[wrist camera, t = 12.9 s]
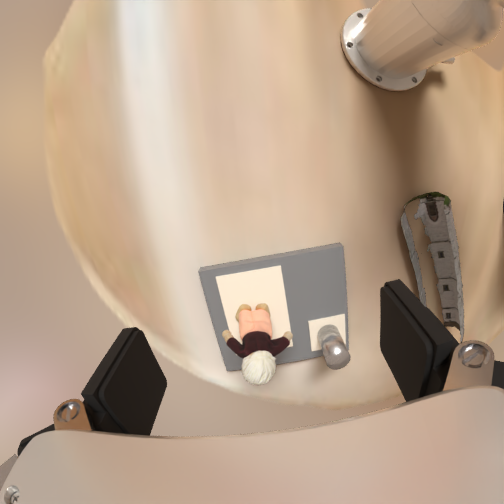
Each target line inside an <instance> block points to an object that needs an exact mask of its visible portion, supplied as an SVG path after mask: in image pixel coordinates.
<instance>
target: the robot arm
mask: <svg viewBox="0 0 504 504" xmlns="http://www.w3.org/2000/svg"><path fill="white" fill-rule="evenodd" d="M503 8H504V0H379V2H378V3H377V4H376V5H375V6H374V7H373V8H366V9H361V10H358V11H356V12H354V13H353V14H352V15H350V16H349V17H348V19H347V20H346V21H345V23H344V25H343V27H342V31H341V43H342V48H343V51H344V53H345V55H346V58H347V59H348V61H349V62H350V64H351V65H352V66H353V68H354V69H355V70H356V71H357V72H358V73H359V74H360V75H361V76H362V77H363V78H364V79H366V80H367V81H369V82H370V83H372V84H374V85H376V86H378V87H380V88H383V89H386V90H390V91H405V90H408V89H411V88H413V87H415V86H417V85H418V84H419V83H420V82H421V81H422V80H423V78H424V77H425V74H426V72H427V68H429V67H431V66H434V65H436V64H438V63H447V64H453V63H454V57H455V56H458V55H461V54H463V53H466V52H468V51H471V50H474V49H476V48H479V47H482V46H484V45H486V44H488V43H490V42H491V41H492V40H494V39H495V37H496V36H497V34H498V33H499V31H500V28H501V24H502V18H503ZM348 46H349V47H350V48H349V47H348ZM376 79H377V80H378V81H377V80H376ZM380 297H381V328H380V347H381V351H382V354H383V356H384V358H385V360H386V361H387V363H388V365H389V367H390V369H391V371H392V373H393V375H394V377H395V379H396V381H397V383H398V386H399V388H400V390H401V392H402V394H403V396H404V398H405V400H406V402H405V403H402V404H398V405H395V406H392V407H388V408H385V409H381V410H378V411H374V412H370V413H366V414H362V415H358V416H354V417H350V418H345V419H341V420H336V421H332V422H327V423H322V424H317V425H311V426H305V427H299V428H293V429H285V430H279V431H270V432H262V433H251V434H240V435H224V436H195V437H193V436H192V437H178V436H150V433H151V430H152V427H153V424H154V421H155V419H156V416H157V413H158V410H159V407H160V404H161V401H162V398H163V396H164V392H165V390H166V387H167V380H166V378H165V376H164V374H163V372H162V370H161V368H160V366H159V364H158V362H157V360H156V358H155V356H154V355H153V352H152V350H151V348H150V346H149V344H148V341H147V339H146V337H145V335H144V333H143V331H141V330H139V329H138V328H137V327H133V328H125V329H123V330H122V331H121V333H120V334H119V336H118V337H117V339H116V340H115V342H114V343H113V345H112V346H111V348H110V349H109V351H108V352H107V354H106V355H105V357H104V358H103V360H102V361H101V363H100V364H99V366H98V367H97V369H96V371H95V372H94V374H93V375H92V377H91V378H90V380H89V382H88V383H87V385H86V387H85V388H84V390H83V391H82V393H81V395H82V396H83V398H84V399H85V400H84V401H83V402H82V401H80V400H79V399H70V400H67V401H65V402H63V403H62V404H60V405H59V406H58V407H57V409H56V410H55V412H54V417H53V419H54V424H52V425H50V426H49V427H47V428H45V429H43V430H41V431H39V432H37V433H35V434H33V435H31V436H29V437H27V438H25V439H23V440H22V441H21V443H20V445H19V448H18V456H16V455H15V454H14V455H13V456H12V457H11V458H10V459H8V460H7V461H6V462H5V463H4V464H2V465H1V466H0V504H504V362H500V361H495V360H494V353H493V351H492V349H491V348H490V347H489V346H488V345H487V344H485V343H483V342H480V341H472V340H470V341H466V342H463V343H461V344H459V343H458V342H457V341H456V339H455V338H454V337H453V336H452V335H451V333H450V332H449V331H448V330H447V329H446V328H445V326H444V325H443V324H442V323H441V322H440V321H439V319H438V318H437V317H436V316H435V315H434V314H433V313H432V312H431V310H430V309H429V308H427V307H425V306H424V305H423V304H422V303H421V302H420V301H419V299H418V298H417V297H416V296H415V295H414V294H413V293H412V292H411V291H410V290H409V289H408V287H407V286H406V285H405V284H404V283H403V282H402V281H401V280H400V279H398V280H394V281H390V282H386V283H385V285H384V287H382V288H381V290H380Z"/></svg>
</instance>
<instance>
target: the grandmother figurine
mask: <svg viewBox="0 0 504 504" xmlns="http://www.w3.org/2000/svg"><path fill="white" fill-rule="evenodd" d="M235 318H236V320H237V321H238V322H239V333H240V339H241V340H242V344H241V343H240V342H239V341H238V340H237V339H235V338H234V337H233V335H231V332H230V331H229V330H225V331H223V333H222V336H223V338H224V339H225V341H226V344H227V346H228V347H229V348H230V349H231V350H232V351H233V352H234V353H235V354H237V355H238V356H239V357H241V358H243V363H242V373H243V375H244V379H245V380H246V381H248V382H249V383H250V384H254V385H263V384H266V383H267V382H269V381H270V380H271V378H272V377H273V375H274V374H275V371H276V364H275V359H276V358H275V357H274V356H276V355H278V354H280V353H281V352H282V351H283V350H285V349H286V348H287V347H288V346H289V345H290V340H291V339H292V337H293V334H292V333H291V332H290V331H287V332H285V333H284V335H283V336H282V337H280V338H277V339H272V323H271V320H270V311H269V307H268V305H267V304H265V303H260V304H258V305H257V306H256V309H255V310H254V311H251V307H250V306H249V305H247V304H242V305H240V306H239V308H238V310H237V313H236V315H235Z"/></svg>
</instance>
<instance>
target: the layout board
mask: <svg viewBox="0 0 504 504" xmlns="http://www.w3.org/2000/svg"><path fill="white" fill-rule="evenodd" d="M199 276H200V280H201V283H202V287H203V291H204V294H205V298H206V302H207V305H208V309H209V312H210V316H211V319H212V323H213V326H214V330H215V333H216V337H217V340H218V343H219V347H220V350H221V353H222V356H223V360H224V363H225V366H226V369H227V371H233V370H241V369H242V363H243V358H241V357H239V356H238V355H237V354H235V353H234V352H233V351H232V350H231V349H230V348H229V347H228V346H227V344H226V341H225V339H224V338H223V336H222V333H223V331H225V330H229V331H230V332H231V335H233V337H234V338H235V339H237V340H238V341H239V342H240V343H241V344H242V340H241V339H240V333H239V322H238V321H237V320H236V318H235V315H236V313H237V310H238V308H239V306H240V305H242V304H247V305H249V306H250V307H251V311H254V310H255V309H256V306H257V305H258V304H260V303H265V304H267V305H268V307H269V311H270V320H271V323H272V339H277V338H280V337H282V336H283V335H284V333H285V332H287V331H290V332H291V333H292V334H293V337H292V339H291V340H290V345H289V346H288V347H287V348H286V349H285V350H283V351H282V352H281V353H280V354H278V355H276V356H274V357H275V358H276V359H275V364H282V363H288V362H294V361H299V360H305V359H310V358H315V357H320V356H324V354H323V351H322V348H321V345H320V342H319V340H318V336H317V334H318V331H319V330H320V328H322V327H323V326H325V325H329V324H331V325H334V326H336V327H337V328H338V330H339V332H340V334H341V337H342V339H343V341H344V343H345V345H346V347H347V350H349V341H348V308H347V289H346V273H345V260H344V249H343V245H342V244H341V243H336V244H330V245H325V246H319V247H314V248H308V249H302V250H297V251H291V252H286V253H280V254H274V255H269V256H263V257H257V258H252V259H246V260H240V261H235V262H229V263H223V264H217V265H212V266H206V267H200V269H199Z"/></svg>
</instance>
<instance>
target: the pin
mask: <svg viewBox="0 0 504 504" xmlns="http://www.w3.org/2000/svg"><path fill="white" fill-rule="evenodd" d="M317 336H318V340H319V342H320V345H321V348H322V351H323V354H324V357H325V360H326V363H327V366H328V367H329V368H331V369H341V368H343V367H345V366H346V365H347V364H348V363H349V361H350V354H349V352H348V350H347V347H346V345H345V343H344V341H343V339H342V337H341V334H340V332H339V330H338V328H337V327H336V326H334V325H331V324H329V325H325V326H323V327H322V328H320V330H319V331H318V334H317Z"/></svg>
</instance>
